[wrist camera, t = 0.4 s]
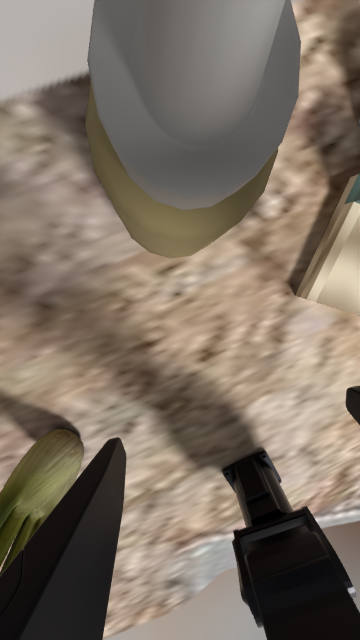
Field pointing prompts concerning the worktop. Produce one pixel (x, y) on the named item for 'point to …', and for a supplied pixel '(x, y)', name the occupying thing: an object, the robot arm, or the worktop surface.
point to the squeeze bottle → (188, 112)
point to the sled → (338, 257)
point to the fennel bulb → (37, 488)
